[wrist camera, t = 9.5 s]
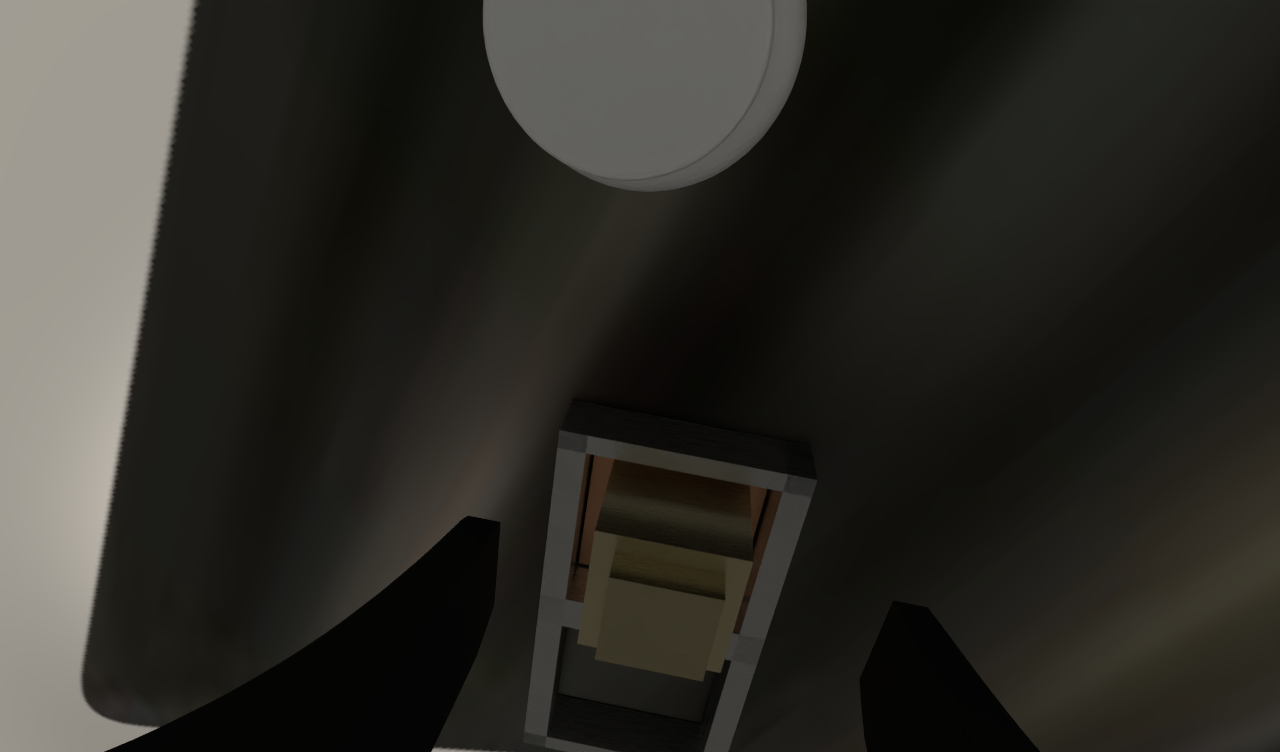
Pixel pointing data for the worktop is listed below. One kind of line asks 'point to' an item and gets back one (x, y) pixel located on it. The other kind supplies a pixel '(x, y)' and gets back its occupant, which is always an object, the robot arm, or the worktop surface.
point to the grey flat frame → (589, 731)
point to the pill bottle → (645, 81)
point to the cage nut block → (667, 570)
